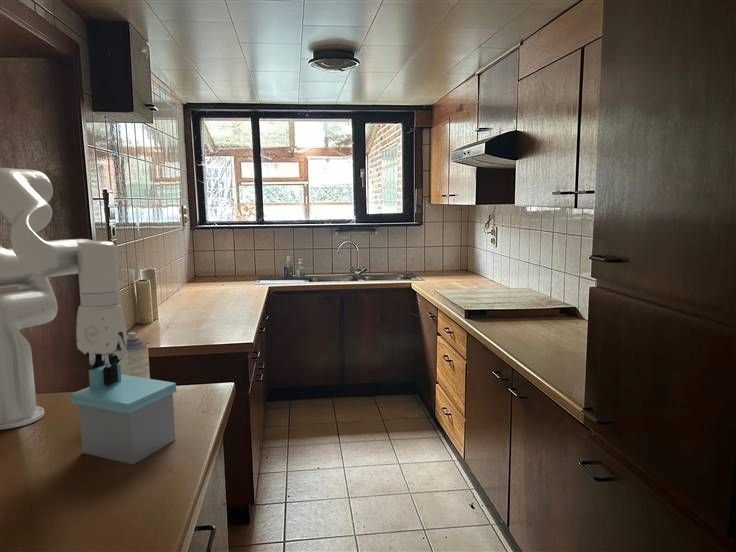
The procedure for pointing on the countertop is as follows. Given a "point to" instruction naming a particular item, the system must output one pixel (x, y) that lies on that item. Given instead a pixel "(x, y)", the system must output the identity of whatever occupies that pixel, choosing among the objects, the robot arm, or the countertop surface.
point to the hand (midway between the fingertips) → (105, 381)
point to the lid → (122, 392)
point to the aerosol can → (135, 358)
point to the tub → (127, 431)
